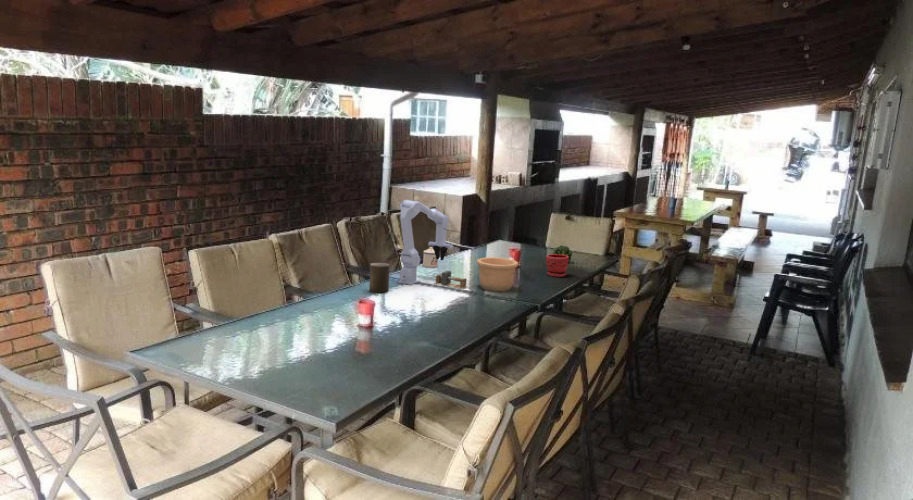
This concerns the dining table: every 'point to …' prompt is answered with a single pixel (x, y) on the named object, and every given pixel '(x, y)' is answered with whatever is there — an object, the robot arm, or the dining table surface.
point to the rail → (461, 286)
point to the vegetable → (563, 251)
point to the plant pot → (557, 265)
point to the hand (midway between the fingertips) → (439, 259)
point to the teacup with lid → (429, 258)
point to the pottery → (496, 273)
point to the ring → (445, 277)
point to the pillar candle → (379, 277)
